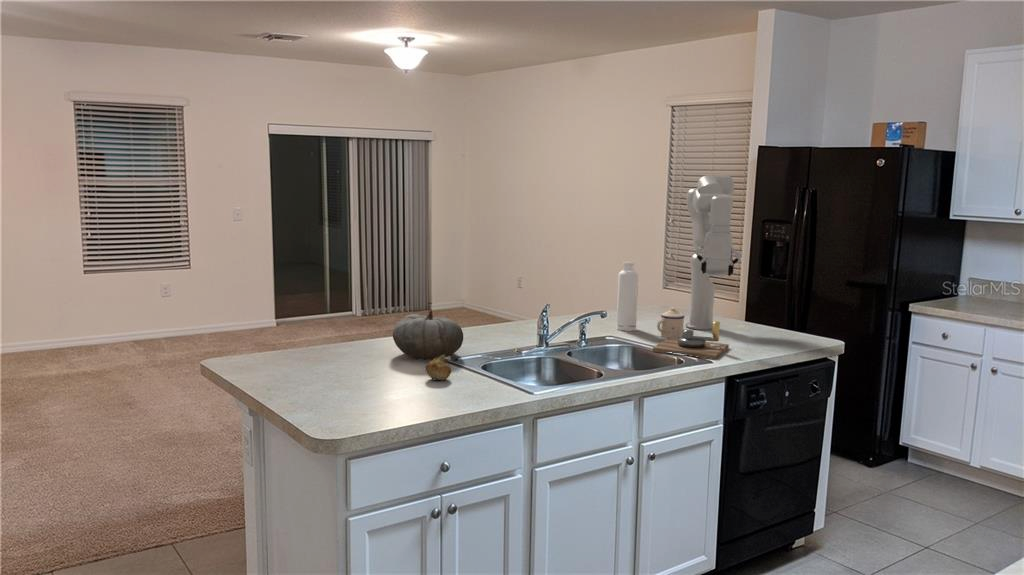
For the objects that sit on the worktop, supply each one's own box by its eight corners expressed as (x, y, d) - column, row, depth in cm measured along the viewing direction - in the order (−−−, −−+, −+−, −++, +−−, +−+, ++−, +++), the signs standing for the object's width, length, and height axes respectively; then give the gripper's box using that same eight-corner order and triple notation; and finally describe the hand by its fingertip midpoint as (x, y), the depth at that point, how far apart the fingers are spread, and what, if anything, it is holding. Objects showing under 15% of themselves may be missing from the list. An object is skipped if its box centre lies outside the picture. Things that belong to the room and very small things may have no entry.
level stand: (668, 341, 308) (668, 336, 308) (728, 348, 298) (728, 343, 297) (652, 351, 291) (653, 346, 290) (715, 359, 280) (716, 354, 280)
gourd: (406, 361, 261) (408, 308, 261) (379, 357, 282) (380, 308, 283) (474, 360, 273) (475, 310, 274) (443, 357, 295) (444, 310, 296)
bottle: (616, 326, 334) (618, 260, 330) (635, 327, 333) (638, 261, 329) (616, 330, 326) (618, 263, 322) (636, 331, 325) (638, 263, 321)
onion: (427, 376, 253) (427, 351, 252) (452, 376, 253) (452, 352, 252) (424, 382, 246) (423, 357, 244) (449, 383, 245) (449, 358, 244)
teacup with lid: (672, 333, 322) (674, 305, 320) (688, 338, 314) (689, 309, 313) (649, 336, 316) (650, 307, 314) (664, 341, 308) (666, 311, 307)
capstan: (676, 346, 291) (678, 322, 289) (678, 340, 300) (679, 317, 299) (718, 349, 287) (719, 324, 286) (718, 343, 296) (719, 319, 295)
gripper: (694, 228, 297) (691, 273, 301) (741, 231, 290) (738, 277, 293) (699, 226, 304) (696, 270, 307) (745, 229, 296) (742, 274, 299)
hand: (716, 274), depth 300 cm, fingers open, 9 cm apart
